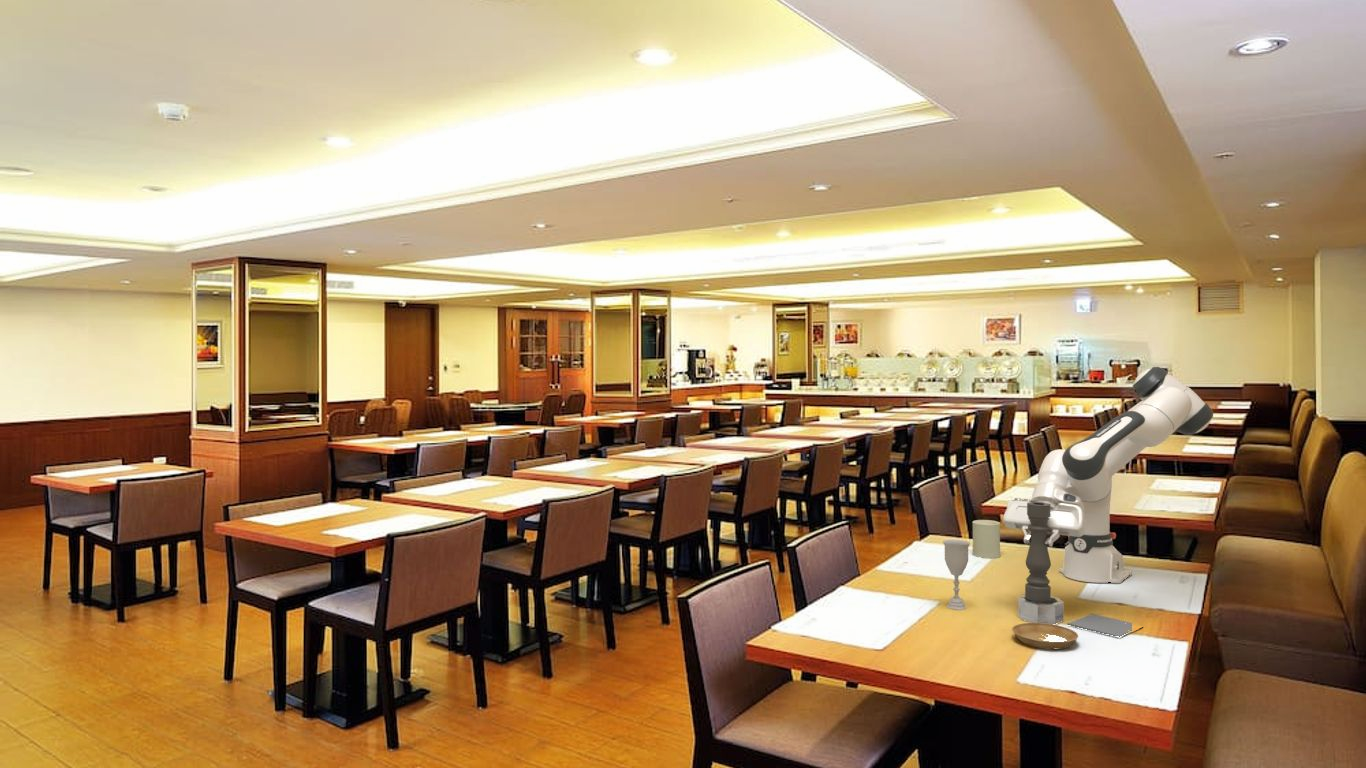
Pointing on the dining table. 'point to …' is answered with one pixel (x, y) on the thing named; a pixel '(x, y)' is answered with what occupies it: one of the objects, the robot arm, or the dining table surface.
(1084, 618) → the slate mat
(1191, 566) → the dining table surface
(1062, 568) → the robot arm
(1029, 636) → the plant saucer
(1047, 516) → the candle holder
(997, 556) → the can
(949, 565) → the chalice
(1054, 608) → the steel collar
